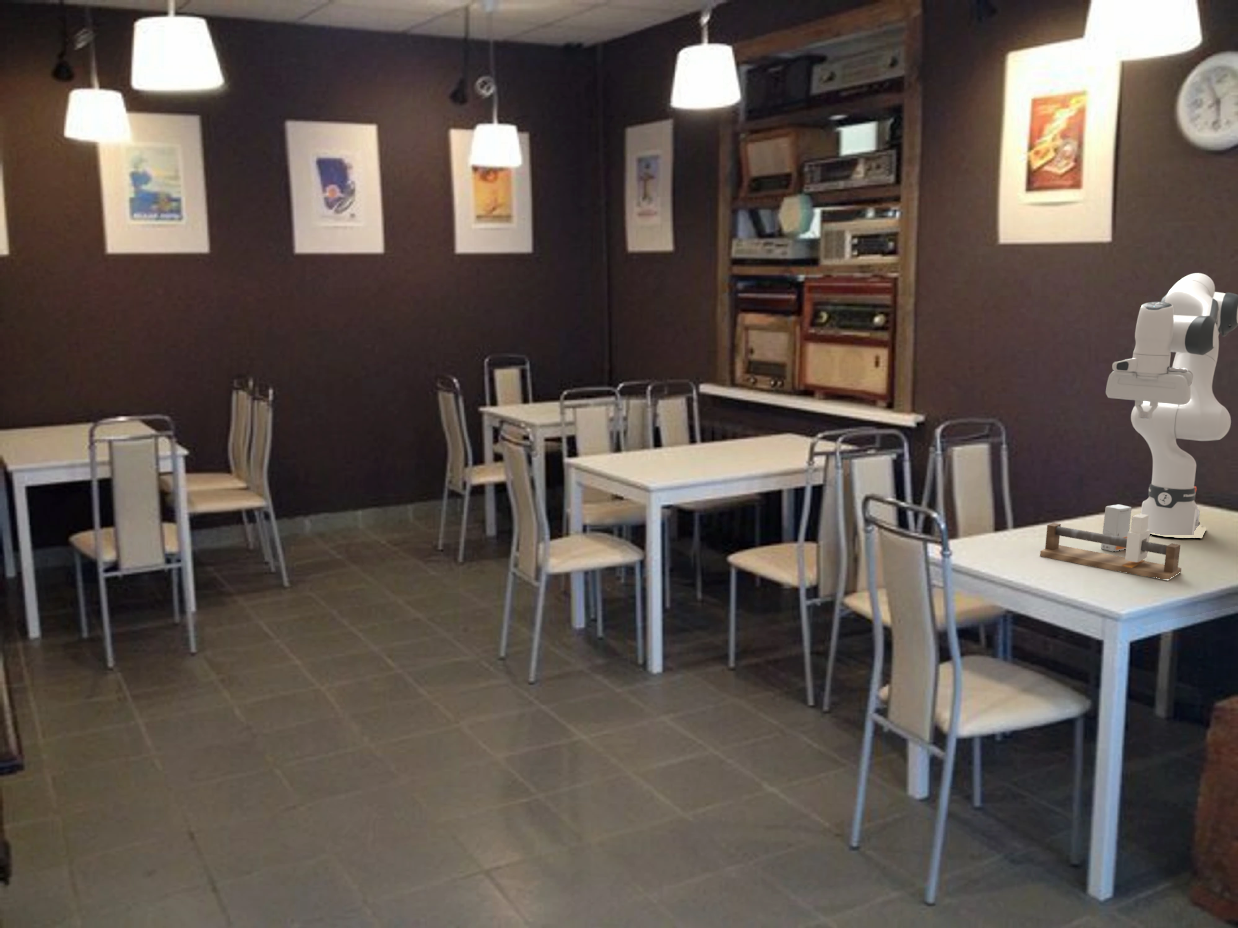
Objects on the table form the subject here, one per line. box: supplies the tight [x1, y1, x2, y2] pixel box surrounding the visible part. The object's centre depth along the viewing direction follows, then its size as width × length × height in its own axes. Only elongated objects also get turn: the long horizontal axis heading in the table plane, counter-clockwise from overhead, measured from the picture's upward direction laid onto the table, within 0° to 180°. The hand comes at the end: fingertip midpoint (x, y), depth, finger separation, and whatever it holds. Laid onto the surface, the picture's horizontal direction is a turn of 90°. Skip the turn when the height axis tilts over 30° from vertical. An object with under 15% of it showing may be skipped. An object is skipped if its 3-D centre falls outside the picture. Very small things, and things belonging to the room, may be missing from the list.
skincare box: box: [1100, 504, 1133, 552], centre depth 306 cm, size 6×4×12 cm
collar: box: [1124, 513, 1151, 562], centre depth 285 cm, size 3×7×11 cm, turn 137°
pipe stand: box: [1039, 522, 1182, 579], centre depth 290 cm, size 32×10×8 cm, turn 47°
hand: (1144, 418), depth 293 cm, fingers closed
